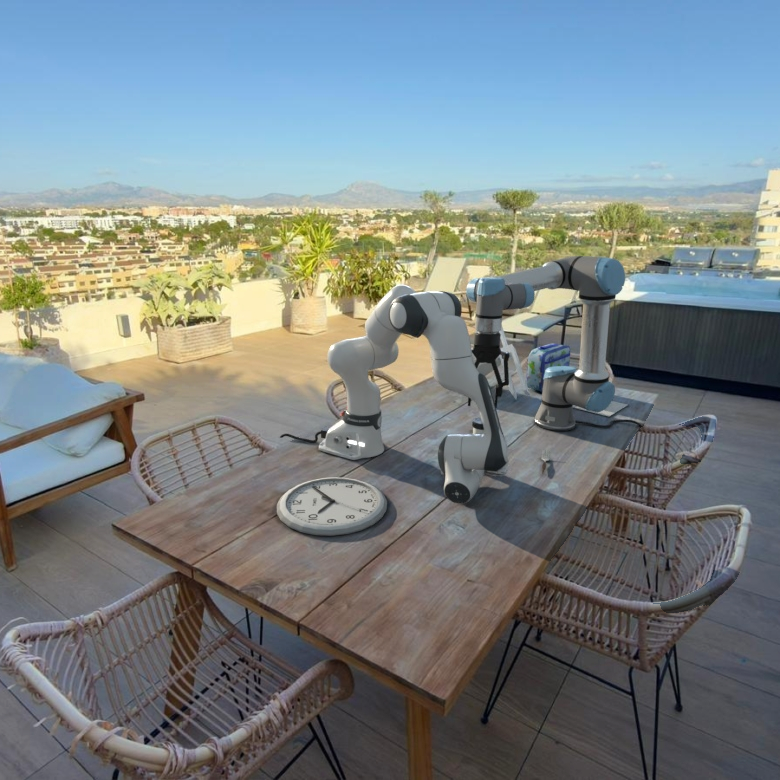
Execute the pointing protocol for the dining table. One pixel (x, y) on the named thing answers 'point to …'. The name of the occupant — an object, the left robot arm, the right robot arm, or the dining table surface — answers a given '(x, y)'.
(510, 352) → the white plastic object
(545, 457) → the fork
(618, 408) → the invitation card
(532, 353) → the lunch box
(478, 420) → the lid
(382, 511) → the wall clock
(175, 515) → the dining table surface
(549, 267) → the right robot arm
